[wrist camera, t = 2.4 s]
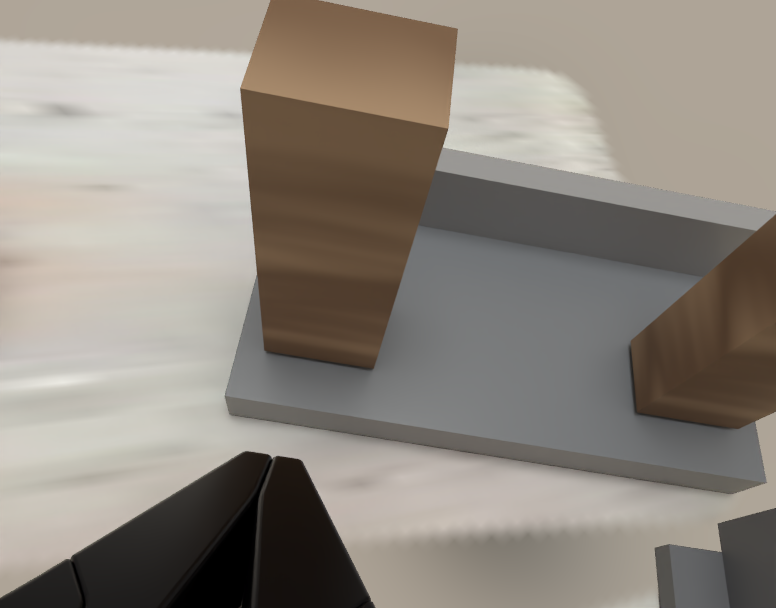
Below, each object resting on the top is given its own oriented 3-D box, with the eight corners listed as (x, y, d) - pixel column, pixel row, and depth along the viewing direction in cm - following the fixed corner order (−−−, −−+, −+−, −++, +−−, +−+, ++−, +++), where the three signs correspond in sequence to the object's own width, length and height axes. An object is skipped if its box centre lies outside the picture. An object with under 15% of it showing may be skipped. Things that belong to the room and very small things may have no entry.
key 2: (373, 368, 22) (448, 128, 12) (264, 350, 22) (240, 88, 11) (383, 298, 24) (457, 28, 13) (281, 280, 23) (273, -9, 13)
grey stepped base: (732, 494, 24) (841, 458, 19) (229, 414, 23) (213, 355, 18) (698, 281, 29) (778, 211, 24) (283, 206, 28) (281, 116, 23)
